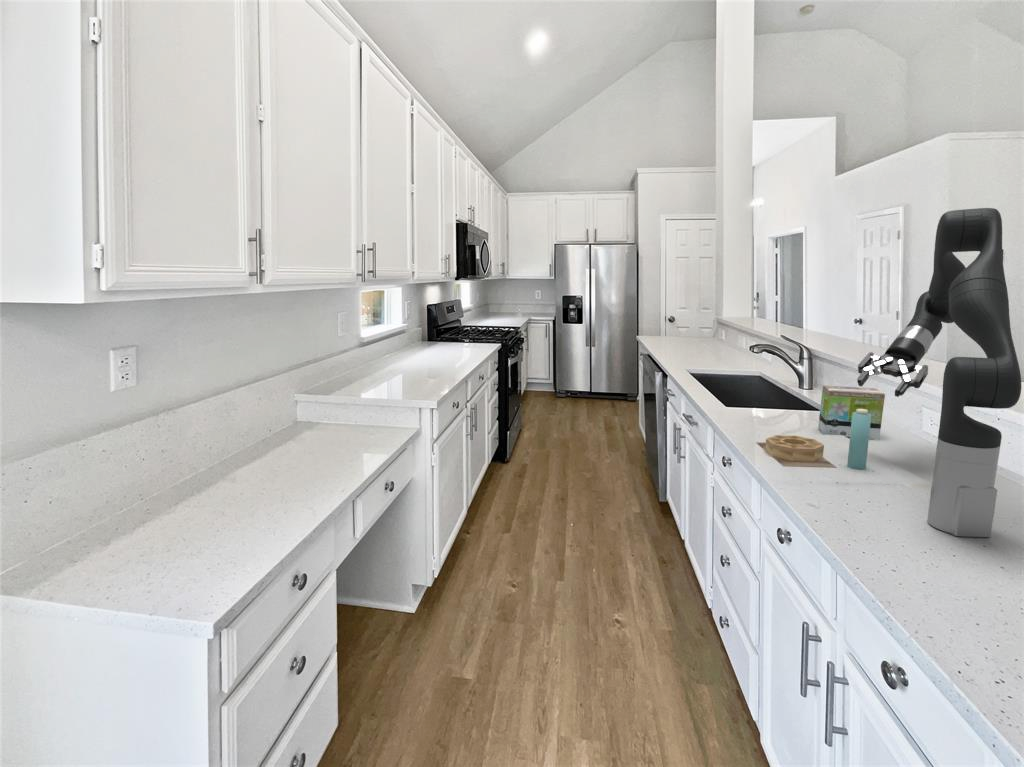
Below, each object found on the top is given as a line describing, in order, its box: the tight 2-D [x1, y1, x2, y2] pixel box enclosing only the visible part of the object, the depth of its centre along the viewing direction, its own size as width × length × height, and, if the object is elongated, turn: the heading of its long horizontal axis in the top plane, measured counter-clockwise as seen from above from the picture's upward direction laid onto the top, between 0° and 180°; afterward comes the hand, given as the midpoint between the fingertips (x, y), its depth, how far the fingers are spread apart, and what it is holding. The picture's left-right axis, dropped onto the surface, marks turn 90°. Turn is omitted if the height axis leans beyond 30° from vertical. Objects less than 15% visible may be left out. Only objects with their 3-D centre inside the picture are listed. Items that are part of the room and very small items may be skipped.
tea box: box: [818, 385, 886, 440], centre depth 174 cm, size 15×10×15 cm, turn 73°
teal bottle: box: [846, 409, 871, 471], centre depth 140 cm, size 4×4×16 cm
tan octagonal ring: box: [764, 434, 825, 462], centre depth 152 cm, size 13×13×4 cm
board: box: [755, 441, 838, 469], centre depth 152 cm, size 22×13×1 cm, turn 174°
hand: (877, 389), depth 140 cm, fingers open, 8 cm apart
